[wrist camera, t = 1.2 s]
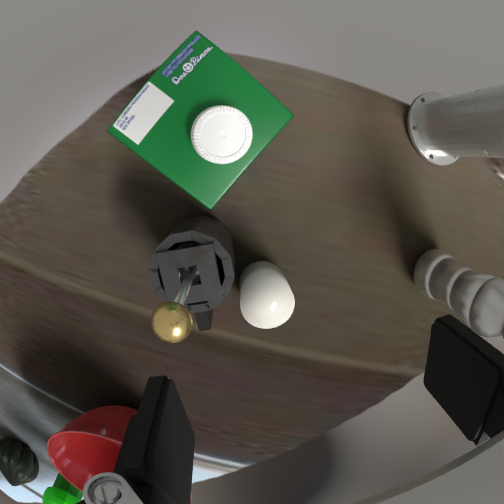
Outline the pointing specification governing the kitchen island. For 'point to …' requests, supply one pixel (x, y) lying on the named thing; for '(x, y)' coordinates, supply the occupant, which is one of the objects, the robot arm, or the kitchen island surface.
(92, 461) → the mixing bowl
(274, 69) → the kitchen island surface
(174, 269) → the carafe
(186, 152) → the milk carton
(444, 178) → the kitchen island surface
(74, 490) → the plastic bottle
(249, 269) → the white egg shape
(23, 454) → the squash
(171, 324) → the plunger
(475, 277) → the plastic bottle
